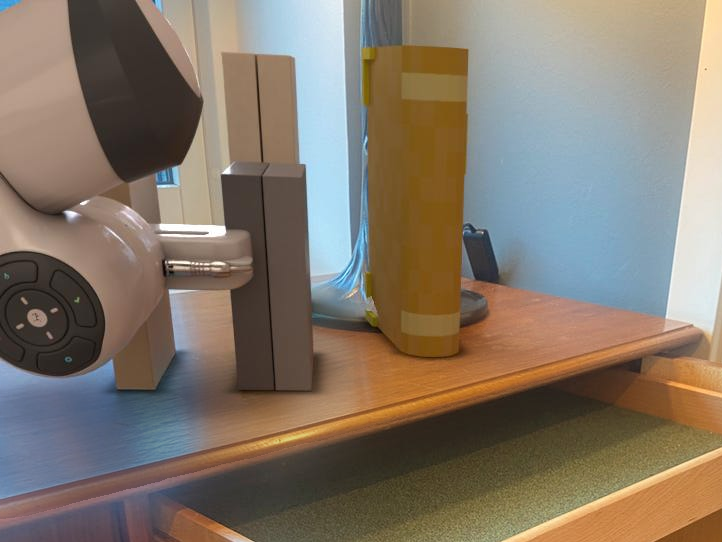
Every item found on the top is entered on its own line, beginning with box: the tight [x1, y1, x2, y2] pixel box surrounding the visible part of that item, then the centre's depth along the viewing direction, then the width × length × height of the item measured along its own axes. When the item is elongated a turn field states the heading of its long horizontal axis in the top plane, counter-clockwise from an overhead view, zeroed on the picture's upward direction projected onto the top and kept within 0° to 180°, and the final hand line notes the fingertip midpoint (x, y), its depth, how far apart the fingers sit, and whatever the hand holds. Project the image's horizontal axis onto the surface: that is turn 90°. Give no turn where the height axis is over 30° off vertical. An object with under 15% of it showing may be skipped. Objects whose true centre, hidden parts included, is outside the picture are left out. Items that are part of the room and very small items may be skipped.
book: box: [360, 44, 470, 358], centre depth 91 cm, size 17×7×25 cm, turn 17°
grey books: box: [220, 161, 315, 392], centre depth 80 cm, size 6×12×16 cm, turn 8°
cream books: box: [220, 51, 301, 166], centre depth 100 cm, size 6×14×24 cm, turn 8°
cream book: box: [97, 173, 177, 391], centre depth 77 cm, size 3×12×20 cm, turn 8°
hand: (132, 238), depth 78 cm, fingers open, 8 cm apart
